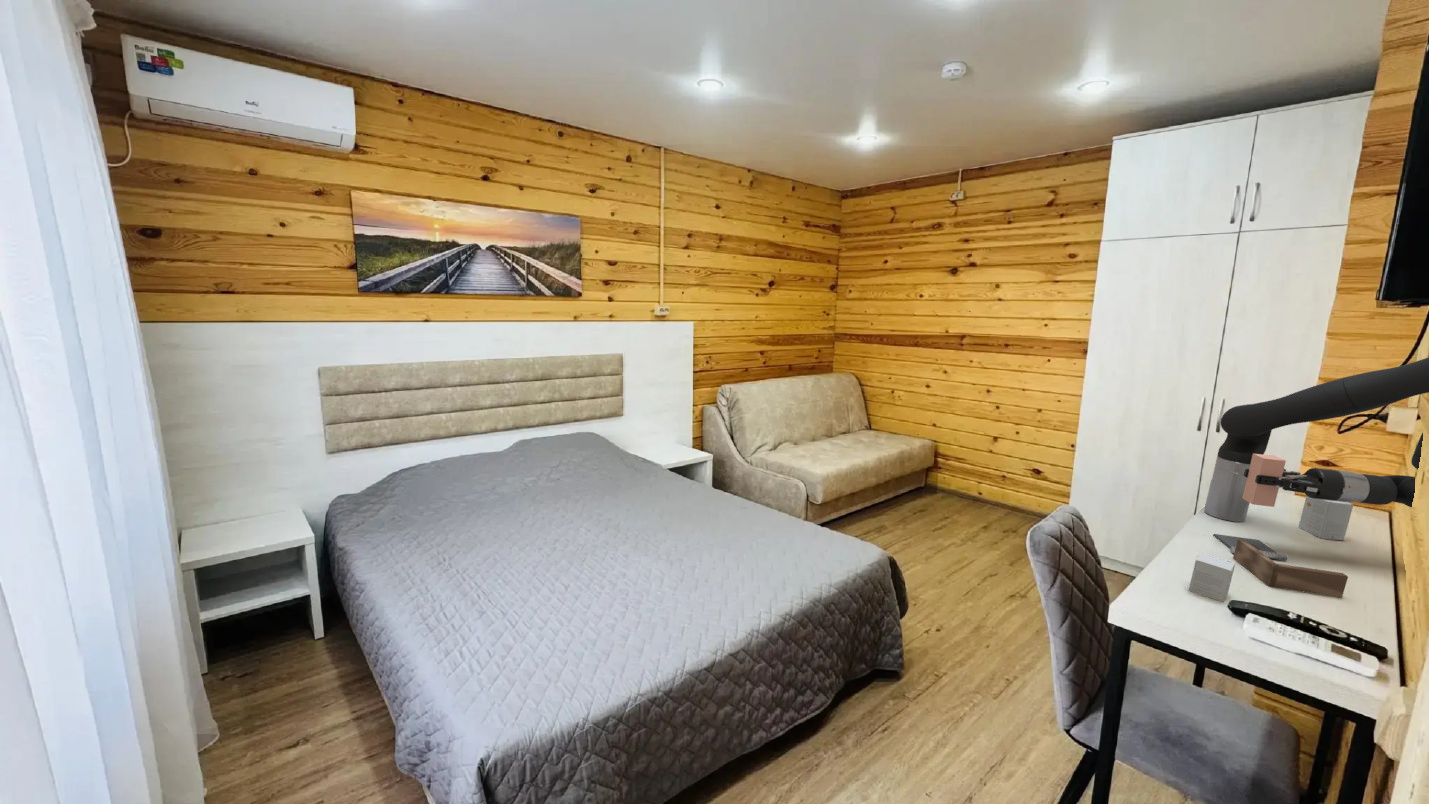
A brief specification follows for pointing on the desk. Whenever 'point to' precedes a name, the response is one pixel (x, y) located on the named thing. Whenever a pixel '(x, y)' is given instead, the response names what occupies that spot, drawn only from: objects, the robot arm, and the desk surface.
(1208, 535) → the desk surface
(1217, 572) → the product box
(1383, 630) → the desk surface
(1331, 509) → the small box
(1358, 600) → the desk surface
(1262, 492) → the tall pink rectangular block
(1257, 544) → the mat
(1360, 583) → the desk surface
